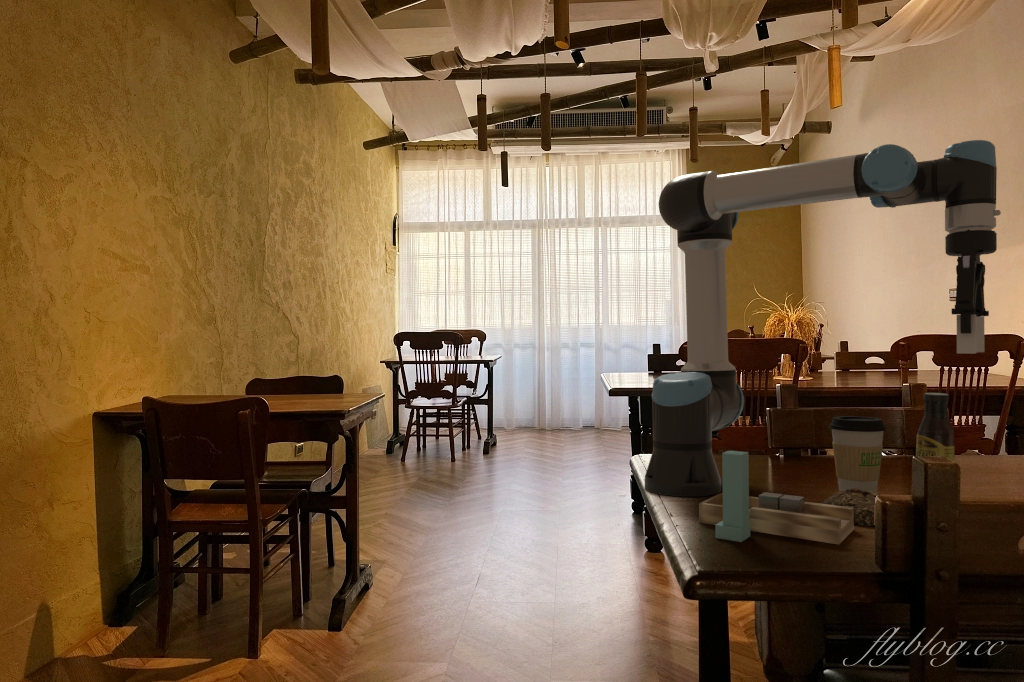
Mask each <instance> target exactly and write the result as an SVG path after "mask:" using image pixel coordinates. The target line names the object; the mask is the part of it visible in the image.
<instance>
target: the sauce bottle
mask: <svg viewBox="0 0 1024 682" xmlns="http://www.w3.org/2000/svg"><path fill="white" fill-rule="evenodd" d="M923 401H924V413H923V415H924V416H923V418H922V419H921V423H920V425H919V428H918V430H917V433H916V439H915V441H916V443H915V444H916V447H915V457H916V456H944V457H948V458H949V459H950V460H952V461H954V462H955V448H956V447H955V430H954V428H953V426H952V424H951V423H950V420H949V418H948V417H949V414H948V407H949V406H948V405H949V404H948V403H949V401H950V395H949V394H948V393H944V392H943V393H942V392H925V393H924V395H923Z"/></svg>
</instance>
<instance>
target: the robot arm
mask: <svg viewBox="0 0 1024 682" xmlns="http://www.w3.org/2000/svg"><path fill="white" fill-rule="evenodd" d="M996 157H997V156H996V146H995V144H993V143H992V141H989V140H986V139H985V140H983V139H976V140H975V139H974V140H965V141H960V142H958V143H952V144H951V145H949V146H947V147H946V148H945V150H944V155H943V157H941V158H937V159H931V160H923V161H917V159H916V157H915V156H914V154H913V153H912V152H910V150H908V148H907V149H906V148H905V147H903V146H900V145H897V144H893V143H891V144H889V143H888V144H883V145H879V146H877V147H875V148H873V149H872V150H871V151H869V152H864V153H860V154H853V155H846V156H839V157H833V158H832V157H831V158H827V159H826V158H825V159H819V160H812V161H805V162H798V163H797V162H796V163H792V164H786V165H785V164H784V165H778V166H770V167H765V168H757V169H752V170H746V171H738V172H730V173H725V174H724V173H723V174H719V173H718V172H717V171H716V170H709V171H703V172H695V173H688V174H687V173H686V174H681V175H678V176H677V177H674V178H673V179H671V180H670V181H668V182H667V183H666V184H665V186H664V187H663V189H662V191H660V195H659V199H658V210H659V211H658V212H659V213H660V216H661V219H662V220H663V221H664V223H665V224H666V225H667V226H669V227H670V228H671V229H673V230H675V231H676V235H677V236H676V237H677V239H676V240H677V243H676V244H677V247H678V248H679V249H680V250H681V251H682V252H683V253H684V267H685V268H684V273H685V274H684V275H685V300H686V301H685V302H686V303H685V305H686V306H685V308H686V309H685V310H686V339H687V341H686V342H687V343H686V344H687V347H686V348H687V360H686V361H687V362H686V363H685V364H683V366H682V367H681V369H680V372H675V373H667V374H666V373H665V374H663V375H660V376H657V377H656V378H655V379H654V380H653V383H652V393H651V400H652V402H651V403H652V405H651V406H652V408H651V409H652V452H651V457H650V459H649V463H648V465H647V469H646V471H645V475H644V489H645V490H646V491H648V492H651V493H653V494H658V495H665V496H671V497H688V498H689V497H691V498H692V497H694V498H695V497H706V496H715V495H718V494H720V493H722V478H721V474H720V472H719V470H718V466H717V464H716V460H715V458H714V455H713V448H712V447H713V445H712V444H713V443H712V442H713V440H712V438H713V435H712V434H713V433H712V432H713V431H716V432H717V431H720V430H724V429H725V428H727V427H729V426H730V425H731V424H734V423H735V422H736V421H737V420H738V419H739V418H740V416H741V415H742V412H743V410H744V405H745V397H744V393H743V392H744V391H743V390H742V388H741V387H740V385H739V383H737V369H736V367H735V366H734V365H733V364H732V363H731V362H730V360H729V341H728V308H727V307H728V305H727V301H728V300H727V274H726V273H727V267H726V251H727V249H728V248H729V247H730V246H731V245H732V244H733V230H734V229H735V227H736V225H737V224H738V222H739V217H740V216H739V215H740V214H739V213H742V212H750V211H759V210H767V209H775V208H782V207H784V208H785V207H793V206H800V205H808V204H818V203H826V202H834V201H843V200H851V199H861V198H869V200H870V202H871V205H872V206H873V207H875V208H881V209H882V208H891V209H892V208H893V209H894V208H896V207H901V206H902V207H903V206H910V205H918V204H929V203H936V202H945V209H944V231H945V232H947V233H948V234H946V235H945V238H944V239H945V243H944V244H945V246H944V247H945V248H944V249H945V254H946V255H947V256H950V257H957V258H956V262H957V265H955V266H956V267H955V272H956V289H955V304H954V308H951V315H956V354H958V355H959V354H960V355H961V354H967V355H969V354H970V355H972V354H973V355H975V354H977V353H985V317H989V316H990V311H989V310H986V309H987V308H986V307H985V306H986V305H985V290H984V289H985V281H986V279H985V274H986V265H985V264H984V262H983V261H981V256H982V255H990V254H994V253H995V252H996V251H997V246H998V245H997V244H998V243H997V242H998V241H997V240H998V239H997V235H998V234H997V232H996V231H995V230H993V229H995V228H996V227H997V217H998V216H1000V215H1001V214H1002V212H1001V210H1000V209H996V208H997V178H998V177H997V173H998V172H997V170H998V168H997V158H996ZM995 216H997V217H995Z"/></svg>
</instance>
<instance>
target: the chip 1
mask: <svg viewBox="0 0 1024 682" xmlns="http://www.w3.org/2000/svg"><path fill="white" fill-rule="evenodd" d="M782 496H784V494H782V493H773V492H767V491H766V492H761V494H758V498H759V508H766V509H773V510H780V497H782Z"/></svg>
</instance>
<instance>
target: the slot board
mask: <svg viewBox="0 0 1024 682" xmlns="http://www.w3.org/2000/svg"><path fill="white" fill-rule="evenodd" d="M804 503H805V514H803V513H795V512H788V511H781V510H773V509H766V508H759V496H758V497H757V496H750V495H749V523H750V532H756V533H757V532H758V533H763V534H770V535H775V536H782V537H788V538H796V539H801V540H806V541H815V542H820V543H827V544H834V545H841V543H842V542H843V541H844V540H845V539H847V537H848V536H849V535H850V534H851V533H852V532H853V531H854V530H855V525H854V508H852V507H844V506H836V505H828V504H821V503H820V502H819V503H818V502H811V501H804ZM721 521H723V492H720V493H718V494H715V495H712V496H711V497H709V498H708V499H705V500H703V501H701V502H699V503H698V523H699V524H700V523H701V524H703V525H704V524H706V525H711V526H712V525H713V526H715V525H716V524H718V523H719V522H721Z"/></svg>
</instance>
